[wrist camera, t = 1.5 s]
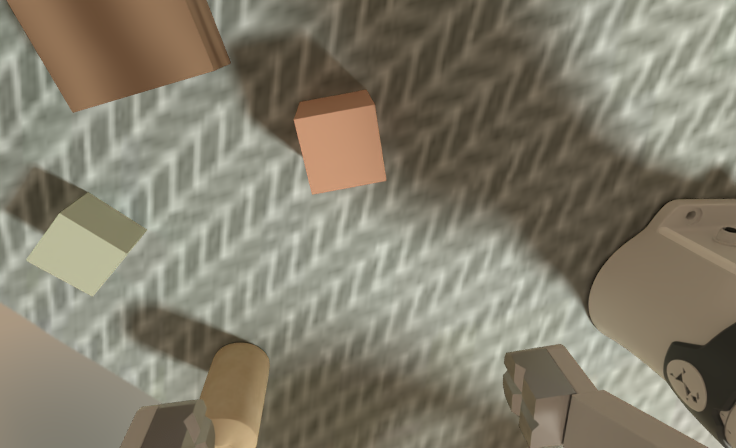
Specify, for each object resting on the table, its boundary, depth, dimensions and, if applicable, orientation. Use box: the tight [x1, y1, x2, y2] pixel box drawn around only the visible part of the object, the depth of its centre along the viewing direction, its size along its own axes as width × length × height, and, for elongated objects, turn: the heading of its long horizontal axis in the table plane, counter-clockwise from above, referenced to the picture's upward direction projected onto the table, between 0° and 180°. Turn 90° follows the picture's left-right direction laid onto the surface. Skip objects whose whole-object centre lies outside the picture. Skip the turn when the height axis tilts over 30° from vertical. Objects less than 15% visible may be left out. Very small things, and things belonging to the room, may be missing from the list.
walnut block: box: [7, 0, 231, 112], centre depth 25 cm, size 9×9×5 cm
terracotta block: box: [294, 90, 386, 195], centre depth 29 cm, size 5×5×6 cm
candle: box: [200, 342, 270, 448], centre depth 36 cm, size 6×6×10 cm
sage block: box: [26, 192, 147, 297], centre depth 32 cm, size 5×5×4 cm
